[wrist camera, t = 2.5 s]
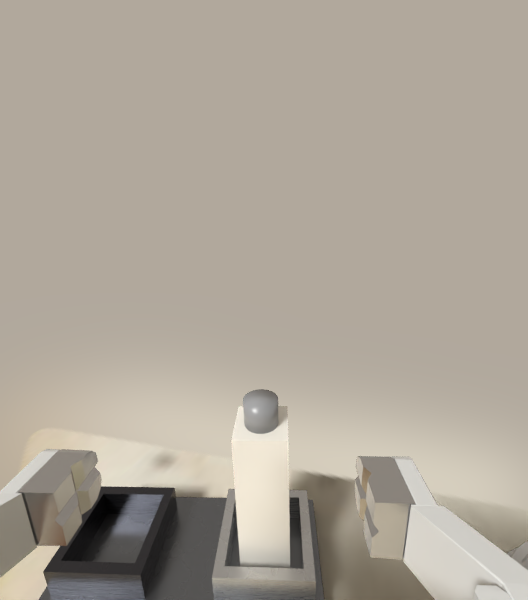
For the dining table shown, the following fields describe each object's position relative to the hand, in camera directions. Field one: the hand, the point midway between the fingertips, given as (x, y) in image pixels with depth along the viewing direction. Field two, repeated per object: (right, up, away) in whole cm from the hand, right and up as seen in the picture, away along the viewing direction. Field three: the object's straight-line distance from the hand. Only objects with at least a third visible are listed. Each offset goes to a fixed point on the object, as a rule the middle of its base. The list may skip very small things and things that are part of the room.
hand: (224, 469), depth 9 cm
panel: (-5, -18, +18) cm, 26 cm away
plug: (+1, -17, +17) cm, 24 cm away
